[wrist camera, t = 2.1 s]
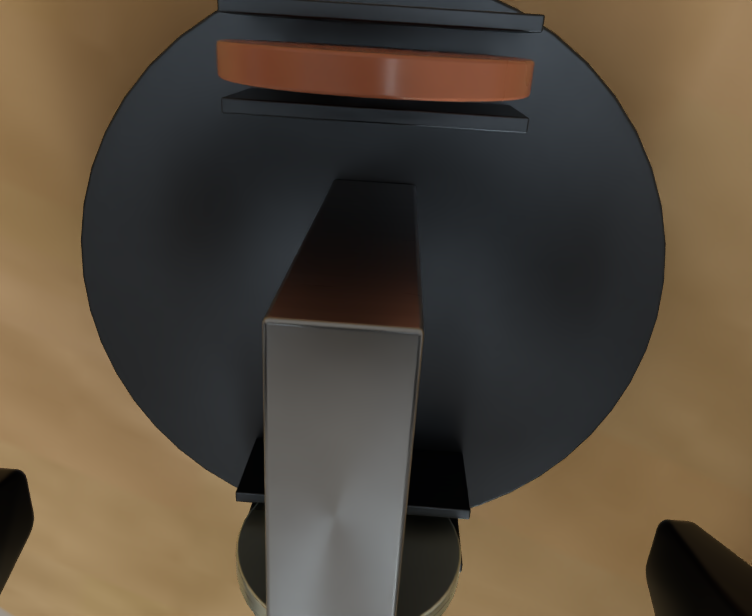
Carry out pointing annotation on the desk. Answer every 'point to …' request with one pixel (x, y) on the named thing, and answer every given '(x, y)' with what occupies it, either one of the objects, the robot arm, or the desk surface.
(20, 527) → the robot arm
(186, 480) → the desk surface
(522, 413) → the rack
